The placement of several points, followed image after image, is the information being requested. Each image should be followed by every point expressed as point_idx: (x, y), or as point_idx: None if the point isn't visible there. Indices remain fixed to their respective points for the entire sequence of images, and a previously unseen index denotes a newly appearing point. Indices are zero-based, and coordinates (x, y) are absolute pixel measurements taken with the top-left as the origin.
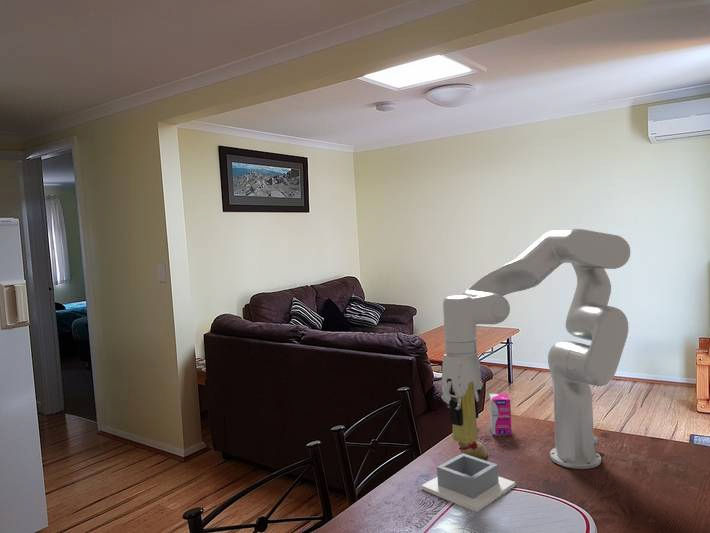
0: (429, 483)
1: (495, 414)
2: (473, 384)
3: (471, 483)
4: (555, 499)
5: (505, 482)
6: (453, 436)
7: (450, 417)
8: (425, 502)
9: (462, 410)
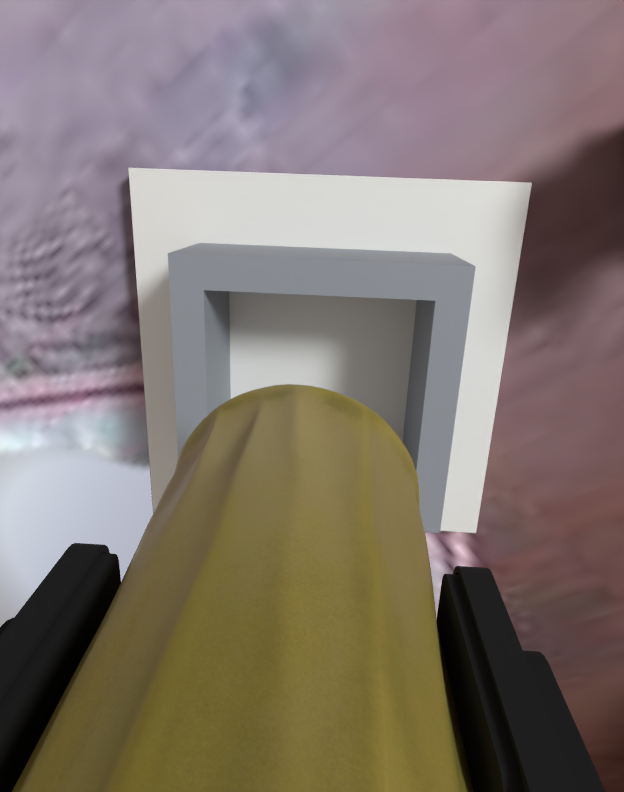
0: (178, 191)
1: None
2: None
3: None
4: None
5: (444, 502)
6: (195, 441)
7: (37, 597)
8: (54, 277)
9: None
